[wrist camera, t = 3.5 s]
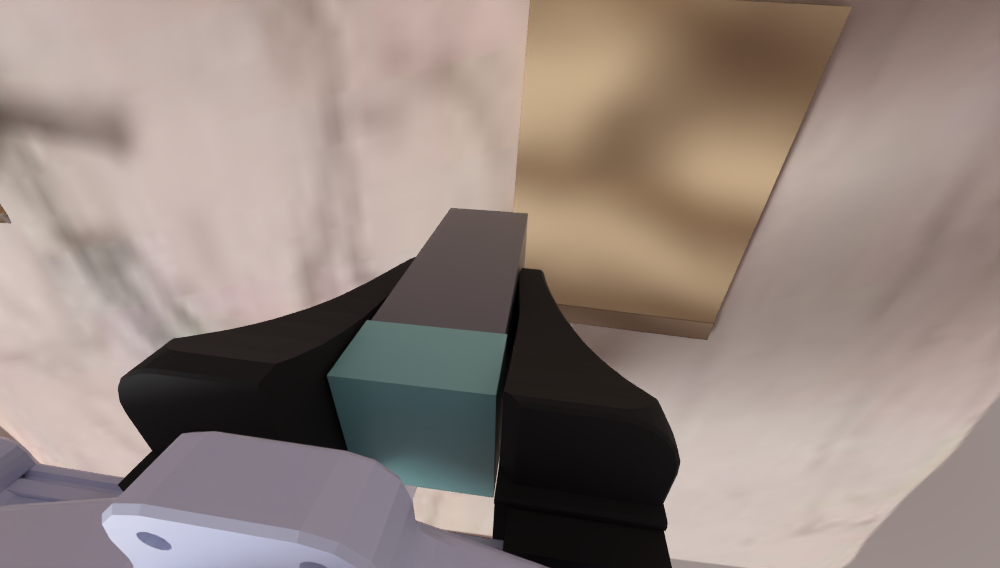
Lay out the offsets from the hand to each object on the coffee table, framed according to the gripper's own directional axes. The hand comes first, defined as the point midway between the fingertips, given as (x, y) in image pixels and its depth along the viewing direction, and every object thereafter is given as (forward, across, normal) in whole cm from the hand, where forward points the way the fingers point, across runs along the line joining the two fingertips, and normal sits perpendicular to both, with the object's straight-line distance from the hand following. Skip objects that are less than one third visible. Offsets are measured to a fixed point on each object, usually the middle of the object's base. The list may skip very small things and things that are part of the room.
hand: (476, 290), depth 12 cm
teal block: (+3, 0, 0) cm, 3 cm away
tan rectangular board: (+9, -6, -1) cm, 11 cm away
